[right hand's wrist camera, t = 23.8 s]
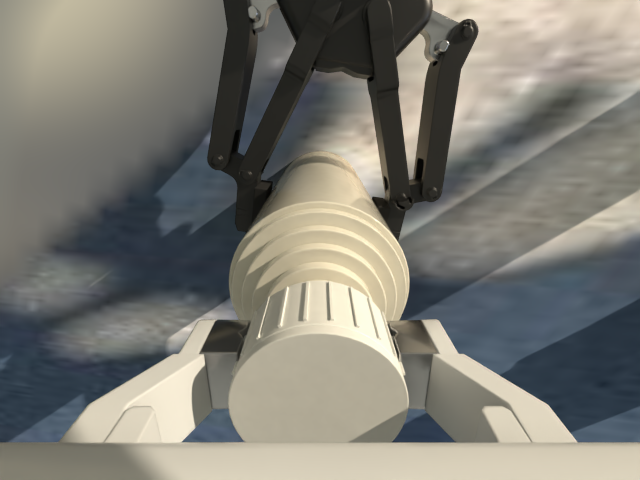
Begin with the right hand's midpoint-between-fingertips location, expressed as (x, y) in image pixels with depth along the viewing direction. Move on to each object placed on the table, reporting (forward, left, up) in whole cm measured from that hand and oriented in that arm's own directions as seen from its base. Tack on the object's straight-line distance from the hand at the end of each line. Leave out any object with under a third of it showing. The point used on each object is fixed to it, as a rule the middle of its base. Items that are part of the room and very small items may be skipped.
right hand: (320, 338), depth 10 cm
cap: (0, 0, +2) cm, 2 cm away
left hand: (-3, -4, -13) cm, 14 cm away
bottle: (0, 0, -20) cm, 20 cm away
